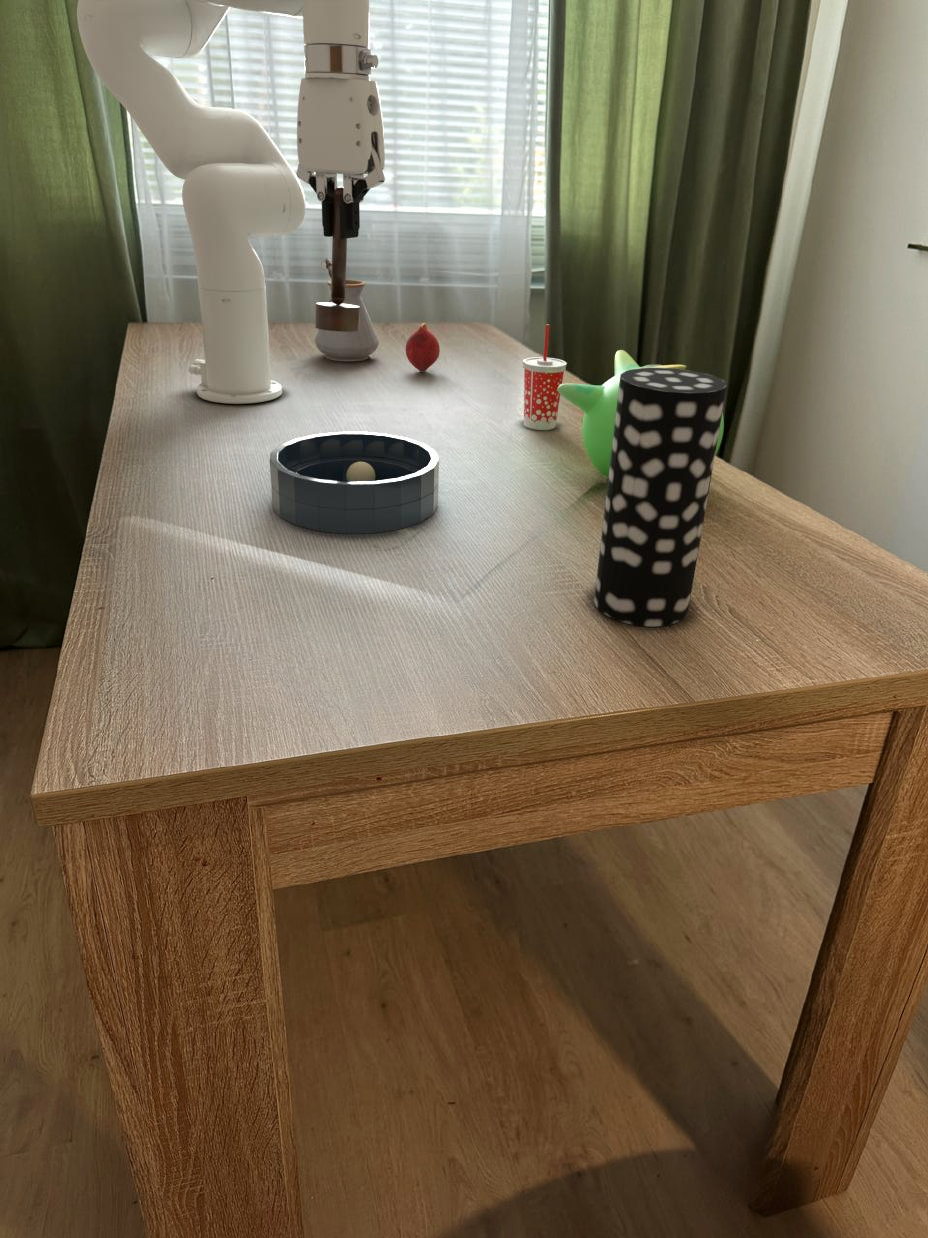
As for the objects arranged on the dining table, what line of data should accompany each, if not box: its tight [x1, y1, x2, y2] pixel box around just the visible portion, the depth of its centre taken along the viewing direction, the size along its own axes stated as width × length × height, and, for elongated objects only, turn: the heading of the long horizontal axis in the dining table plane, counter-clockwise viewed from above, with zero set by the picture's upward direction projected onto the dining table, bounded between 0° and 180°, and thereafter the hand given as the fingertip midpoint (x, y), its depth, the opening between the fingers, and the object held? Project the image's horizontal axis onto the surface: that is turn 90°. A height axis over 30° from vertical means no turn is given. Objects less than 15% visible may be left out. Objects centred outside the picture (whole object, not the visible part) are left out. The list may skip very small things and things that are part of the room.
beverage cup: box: [522, 323, 568, 431], centre depth 129 cm, size 6×6×14 cm
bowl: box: [269, 431, 440, 535], centre depth 99 cm, size 18×18×6 cm
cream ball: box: [346, 462, 375, 482], centre depth 102 cm, size 3×3×3 cm
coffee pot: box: [314, 258, 380, 362], centre depth 167 cm, size 21×12×15 cm, turn 20°
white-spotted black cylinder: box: [593, 368, 728, 627], centre depth 77 cm, size 8×8×20 cm
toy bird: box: [558, 349, 725, 479], centre depth 108 cm, size 18×17×15 cm
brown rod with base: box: [314, 186, 360, 332], centre depth 116 cm, size 6×6×17 cm
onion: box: [405, 322, 441, 373], centre depth 157 cm, size 6×6×8 cm
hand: (341, 235), depth 115 cm, fingers closed on brown rod with base
